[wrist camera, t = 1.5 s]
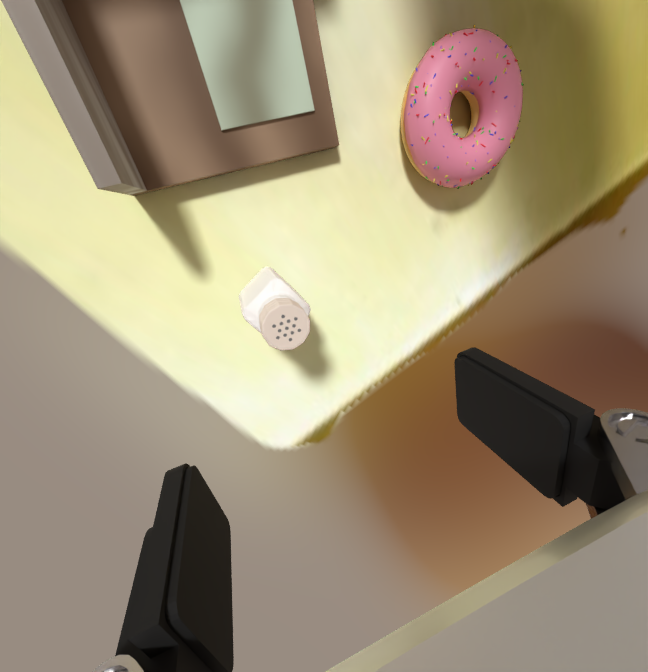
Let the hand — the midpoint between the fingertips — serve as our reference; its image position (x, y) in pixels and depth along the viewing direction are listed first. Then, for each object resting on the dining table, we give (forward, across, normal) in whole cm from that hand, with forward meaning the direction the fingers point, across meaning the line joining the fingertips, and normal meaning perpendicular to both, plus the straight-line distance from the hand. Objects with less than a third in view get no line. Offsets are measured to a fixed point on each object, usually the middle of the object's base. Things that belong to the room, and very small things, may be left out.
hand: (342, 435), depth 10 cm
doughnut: (+20, -20, -10) cm, 30 cm away
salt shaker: (+20, 0, 0) cm, 20 cm away
